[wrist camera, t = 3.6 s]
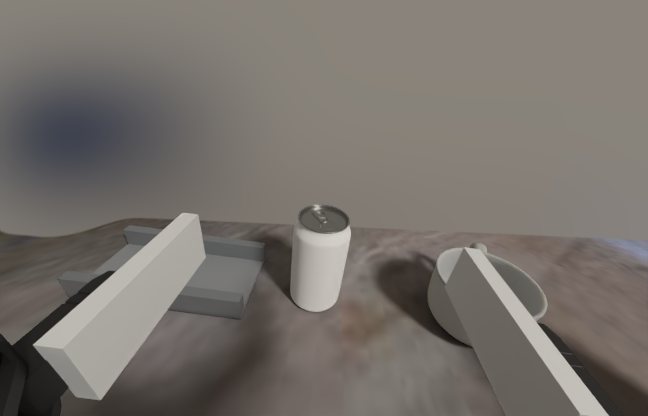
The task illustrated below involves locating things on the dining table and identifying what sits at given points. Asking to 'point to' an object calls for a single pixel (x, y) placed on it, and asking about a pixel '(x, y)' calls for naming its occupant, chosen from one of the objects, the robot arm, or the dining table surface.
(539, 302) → the teacup
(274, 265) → the dining table surface
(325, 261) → the can
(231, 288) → the tray
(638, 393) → the dining table surface
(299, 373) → the dining table surface
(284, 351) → the dining table surface
